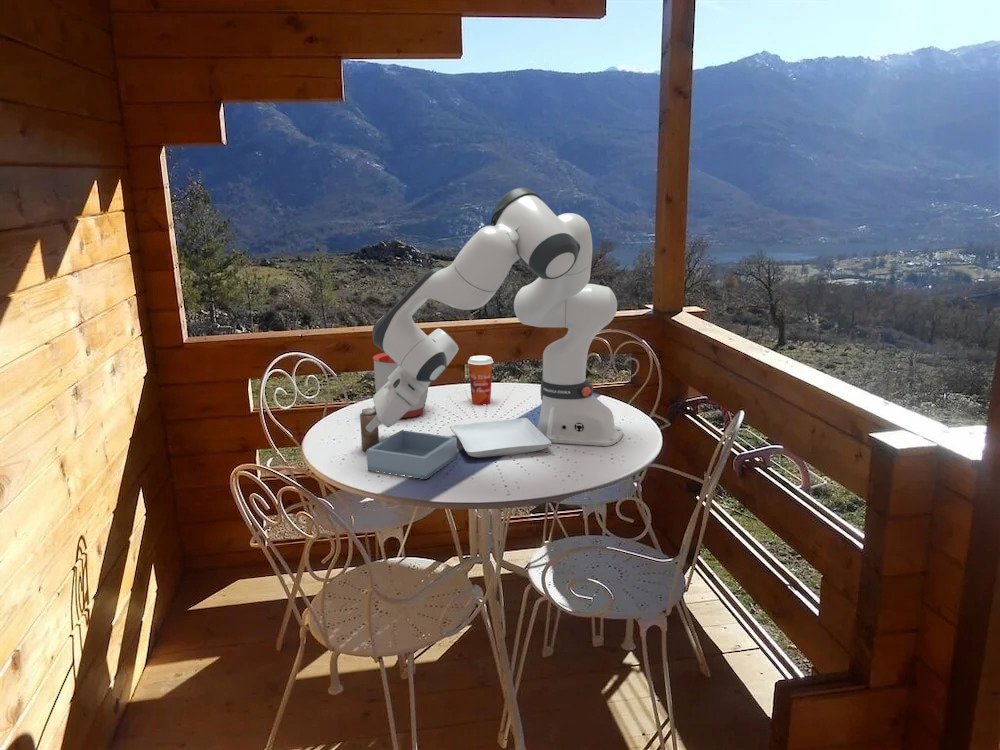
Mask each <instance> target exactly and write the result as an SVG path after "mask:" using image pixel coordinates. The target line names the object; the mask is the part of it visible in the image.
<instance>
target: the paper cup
mask: <svg viewBox="0 0 1000 750" xmlns="http://www.w3.org/2000/svg"><path fill="white" fill-rule="evenodd" d="M467 363H468V369H469V372H468V373H469V382H470V385H469V386H470V394H471V395H470V396H471V397H470V398H471V403H472V404H473V405H475V404H477V405H476V406H484V405H483V404H486V405H489V404H491V395H492V377H493V375H492V373H493V363H495V362H494V361H493V358H492V357H491V356H488V355H473V356H470V357H469V359H468V360H467ZM488 403H489V404H488Z"/></svg>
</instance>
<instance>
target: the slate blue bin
mask: <svg viewBox="0 0 1000 750" xmlns="http://www.w3.org/2000/svg"><path fill="white" fill-rule="evenodd" d="M457 439H458V437H453V436H448V435H447V436H446V435H439V434H432V433H425V432H419V431H409V430H405V429H401V430H399V431H398V432H396V433H394V434H393V435H391V436H388V437H387V438H385V439H383V440H382V441H379V443H378V444H376V445H374V446H372V447H371V448H369V449H367V452H366V460H367V461H366V464H367V471H368V470H372V471H371V472H373V471H379V472H385V473H391V474H397V475H405V476H412V477H418V478H423V479H427V478H429V477H430V476H431V477H433V476H434V475H435V474H436V472H437V471H438V472H440V471H441V470H442V469H444V468H445V467H446V466H448V465H449V464H451V463H452V462H453V461H454V459H455V460H456V459H457V458H458V448H457V446H458V445H457V443H458V442H457ZM452 460H453V461H452ZM451 461H452V462H451ZM448 463H449V464H448ZM447 464H448V465H447ZM445 465H446V466H445ZM444 466H445V467H444ZM443 467H444V468H443ZM441 468H442V469H441ZM440 469H441V470H440ZM379 472H378V473H379ZM438 472H437V473H438ZM385 473H384V474H385ZM434 473H435V474H434ZM391 474H390V475H391ZM433 474H434V475H433ZM397 475H396V476H397ZM432 475H433V476H432ZM431 477H430V478H431ZM430 478H429V479H430ZM427 480H428V479H427Z"/></svg>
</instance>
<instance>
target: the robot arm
mask: <svg viewBox="0 0 1000 750" xmlns="http://www.w3.org/2000/svg"><path fill="white" fill-rule="evenodd" d="M489 223H490V224H489V225H486V226H483V227H481V228H480V229H479V230H477V232H476V233H474V235H472V236H471V238H470V239H469V240H468V241H467V242H466V244H465V245H464V246H463V247H462V248H461V250H460V251H459V252H458V254H457V255H456V256H455V258H454V260H453V261H452V262H451V263H450V264H449V265H448V266H446V267H442V266H441V267H440V266H437V267H436V266H435V268H432V269H431V270H429V271H427V272H426V273H425V274H424V275H422V276H421V278H419V279H418V280H417V282H416V283H415V284H413V285H412V286H411V287H410V288H409V290H407V291H406V293H405V294H403V296H402V297H401V298H400V299H399V300H398V301H397V302H396V303H395V305H394V306H393V307H391V309H389V310H388V311H387V312H386V313H384V314H383V315H382V317H380V318H379V319H378V320H377V321H376V322H375V324H374V326H373V327H372V341H373V345H374V346H376V347H377V348H378V349H380V350H381V352H382V353H386V354H387V355H388V356H390V357H391V358H392V359H393V360H394V361H395V362H396V363H397V364H398V365H399V366H398V367H397V368H396V369H395V370H394V371H393V372H392V373H391V374H390V376H389V377H388V380H389V381H388V382H387V383H386V384H385V385H384V386H383V387H382V388H381V389H380V390H379V391H378V392H377V393H376V392H375V393H374V395H373V396H372V400H373V404H374V405H373V407H372V408H373V409H375V412H376V413H377V415H376V416H375V417H374V419H373V420H372V421H371V422H369V423H368V424H367V425H366V430H367V431H369V432H372V431H373V430H374V429H375V428H376V427H378V428H379V427H380V426H381V425H384V426H385V427H386V428H390V427H392V426H394V425H395V424H396V423H397V422H398V421H399V420H400V418H401V417H402V416H403V415H404V414H405V413H406V412H407V411H408V410H409V409H410V408H411V405H412V406H413V407H415V406H416V405H417V404H418V403H419V401H420V397H421V395H422V394H423V392H424V391H425V390H426V389H427V388H428V389H429V386H430V385H431V383H434V382H436V381H437V379H439V378H440V377H441V376H442V374H443V373H444V372H445V371H446V370H447V367H448V366H449V364H450V363H451V362H452V360H454V357H456V355H457V353H458V351H459V345H458V344H457V342H456V341H455V340H454V338H453V337H452V336H451V335H450V334H449V333H448V332H447V331H446V330H443V329H442V328H439V327H438V328H436V329H435V330H433V331H432V332H431V333H429V334H428V335H427V334H426V333H425V332H424V330H422V329H421V328H420V327H419V326H418V325H417V324H416V323H415V321H414V319H413V315H414V314H415V313H416V312H418V310H419V309H420V308H421V307H422V306H423V305H424V304H425V303H426V302H427V301H428V300H434V301H437V302H440V303H443V304H445V305H448V307H451V308H453V309H458V310H463V311H464V310H465V311H472V310H478V309H480V308H482V307H483V306H485V305H486V304H487V303H489V302H490V300H491V299H492V297H494V295H495V294H496V293H497V291H499V288H500V287H501V285H502V284H503V282H504V281H505V279H506V277H507V275H508V274H509V272H510V271H511V268H512V267H513V265H514V263H516V262H517V261H519V260H520V259H521V258H522V260H523V261H524V262H525V263H526V265H528V267H529V269H530V270H531V271H532V273H534V274H535V275H536V276H538V277H537V278H536V279H535V280H534V281H533V282H531V283H529V284H527V285H524V286H522V287H521V288H520V289H519V290H518V291H517V293H516V295H515V297H514V302H513V311H514V313H515V316H516V318H517V320H518V321H519V323H521V325H527V326H531V327H536V328H566V329H568V330H567V333H565V335H564V336H563V337H560V338H559V339H557V340H555V341H553V342H551V343H550V344H548V345H547V346H546V347H545V349H544V350H543V352H542V353H543V354H542V379H541V380H540V381H541V382H540V400H541V407H540V412H539V413H540V414H539V419H538V422H537V426H536V428H537V429H538V430H539V431H540V432H541V433H543V434H544V435H545V436H546V437H547V438H548V439H549V440H550V441H551V444H567V445H568V444H569V445H581V446H582V445H583V446H588V445H589V446H599V447H601V446H603V447H608V446H612V445H615V444H617V443H619V441H620V440H621V439H622V438H623V436H624V434H623V433H624V430H623V429H622V428H621V427H620V426H616V425H615V419H614V414H613V411H612V410H611V409H610V408H609V407H608V406H607V405H605V404H604V403H603V402H602V401H601V400H599V398H597V397H596V396H595V395H593V394H594V391H593V390H594V386H595V385H594V384H595V382H592V383H590V382H589V381H588V380H587V379H586V375H587V360H588V353H589V349H590V346H591V345H592V344H591V343H592V342H593V341H594V338H595V337H596V336H597V335H598V333H599V332H600V331H601V330H602V329H604V328H605V327H606V326H608V325H609V324H610V323H611V322H612V321H613V320H614V318H615V316H616V313H617V310H618V301H617V297H616V294H615V293H614V291H613V290H612V289H611V288H610V286H604V285H601V284H594V283H589V282H590V278H591V271H592V263H593V262H592V261H593V237H592V232H591V227H590V225H589V223H588V221H587V220H586V219H585V217H582V215H580V214H578V213H571V212H566V213H565V212H564V213H562V214H559V215H557V214H556V213H554V211H553V210H552V209H551V208H550V207H549V206H548V205H547V204H546V203H545V202H544V201H543V199H542V198H541V196H539V194H538V193H536V192H535V191H534V190H531V189H529V188H527V187H517V188H513V189H511V190H510V191H508V192H506V193H505V194H504V195H503V196H501V198H500V200H499V201H498V203H497V205H496V206H495V208H494V211H493V213H492V215H491V217H490V221H489ZM622 435H623V436H622ZM621 437H622V438H621ZM616 442H617V443H616Z"/></svg>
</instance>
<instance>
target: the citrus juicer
mask: <svg viewBox="0 0 1000 750" xmlns="http://www.w3.org/2000/svg"><path fill="white" fill-rule="evenodd" d="M372 360H373V371H374V388H375V394H376V393H377V392H378V391H379V390H380V389H381V388H382V387H383V386H384V385H385V384H386V383H387V382H388V381H389V380H388V377H389V376H390V374H391V373H392V372H393V371H394V370H395V369H396V368H397V367H398V366H399V365H398V364H397V363H396V362H395V361H394V360H393V359H392V358H391V357H390V356H388V355H387V354H386V353H384V352H381V353H377V354H375V355H374V356H373V357H372ZM428 393H429V387H428V388H427V389H426V390H425V391H424V392H423V394H422V395H421V397H420V401H419V403H418V404H417V405H416V406H415V407H413V406H412V405H411V408H410V409H409V410H408V411H407V412H406V413H405V414H404V415H403V416H402V417H401V418H400V419H402V420H403V419H405V418H413V417H417V416H419V415H422V413H423V412H424V410H425V407H426V402H427V399H428ZM400 419H399V420H400Z"/></svg>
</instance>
